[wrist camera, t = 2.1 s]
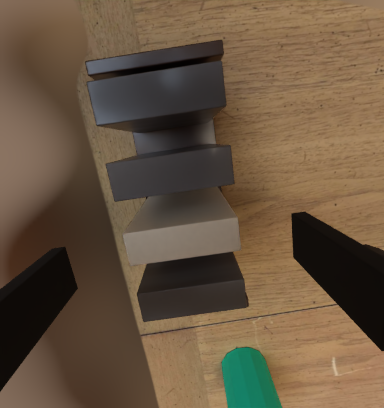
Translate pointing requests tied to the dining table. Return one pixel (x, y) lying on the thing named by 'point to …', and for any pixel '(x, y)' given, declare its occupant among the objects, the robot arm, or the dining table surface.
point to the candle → (248, 380)
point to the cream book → (182, 227)
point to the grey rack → (171, 161)
